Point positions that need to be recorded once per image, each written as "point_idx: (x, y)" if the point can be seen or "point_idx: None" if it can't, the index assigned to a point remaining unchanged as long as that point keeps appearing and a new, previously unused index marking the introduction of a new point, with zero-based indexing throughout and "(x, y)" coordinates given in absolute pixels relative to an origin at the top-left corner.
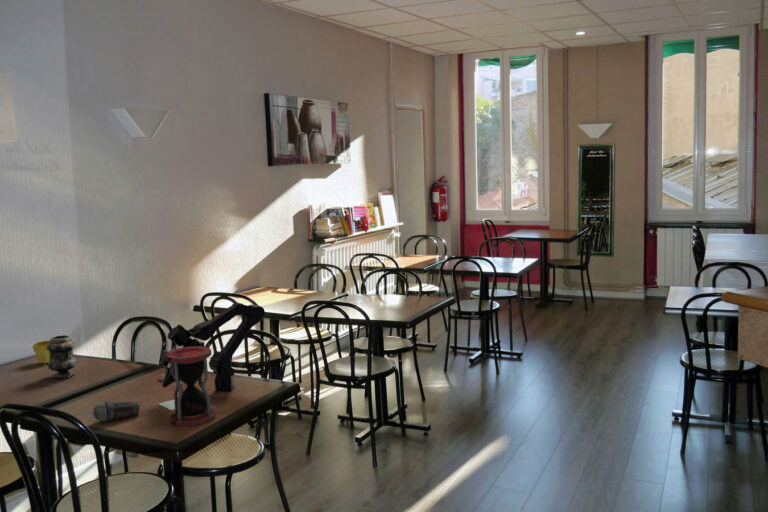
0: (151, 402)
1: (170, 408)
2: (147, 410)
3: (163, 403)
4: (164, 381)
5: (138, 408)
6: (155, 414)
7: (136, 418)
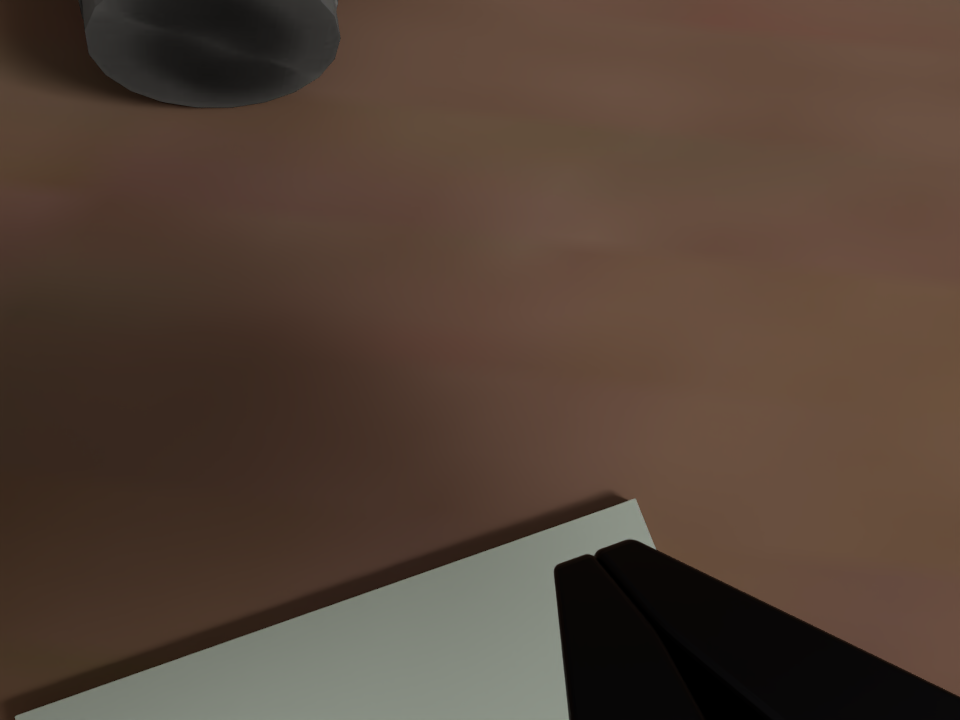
0: (817, 391)
1: (140, 713)
2: (357, 273)
3: None
4: (687, 650)
5: (84, 25)
6: (12, 378)
7: (16, 68)
